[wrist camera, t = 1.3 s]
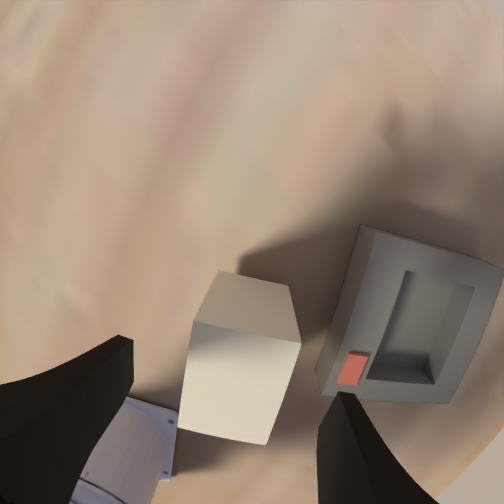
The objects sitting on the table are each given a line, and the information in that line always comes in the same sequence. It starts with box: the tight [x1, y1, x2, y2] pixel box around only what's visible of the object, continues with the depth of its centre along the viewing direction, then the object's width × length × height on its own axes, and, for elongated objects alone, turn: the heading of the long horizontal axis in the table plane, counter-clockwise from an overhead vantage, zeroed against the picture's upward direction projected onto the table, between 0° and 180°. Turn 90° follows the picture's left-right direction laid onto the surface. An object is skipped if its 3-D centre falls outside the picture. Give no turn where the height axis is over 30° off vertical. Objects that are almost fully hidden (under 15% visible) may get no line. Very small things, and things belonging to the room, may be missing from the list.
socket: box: [315, 225, 504, 403], centre depth 18 cm, size 10×10×3 cm
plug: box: [177, 270, 302, 445], centre depth 16 cm, size 4×6×8 cm
